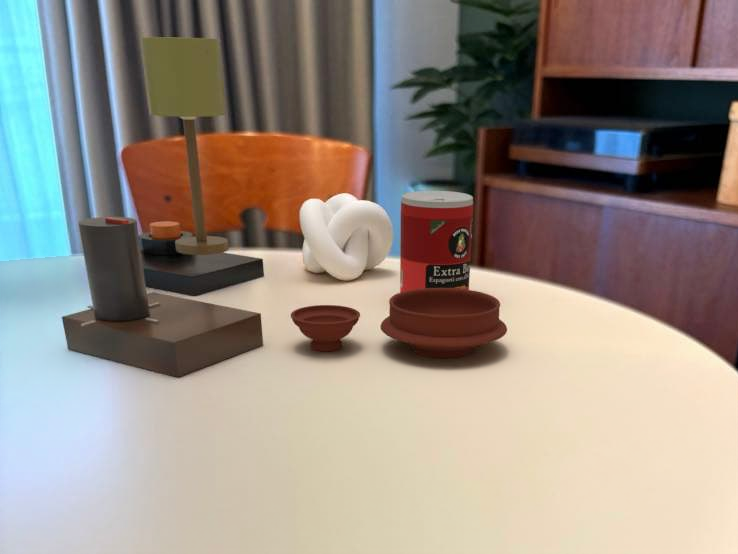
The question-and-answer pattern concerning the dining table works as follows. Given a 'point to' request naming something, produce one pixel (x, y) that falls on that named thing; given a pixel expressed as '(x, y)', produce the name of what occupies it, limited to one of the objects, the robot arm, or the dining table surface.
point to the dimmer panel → (167, 335)
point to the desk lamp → (187, 110)
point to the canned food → (435, 240)
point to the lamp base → (193, 267)
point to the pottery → (414, 321)
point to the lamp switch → (165, 229)
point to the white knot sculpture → (344, 235)
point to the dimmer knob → (114, 268)
